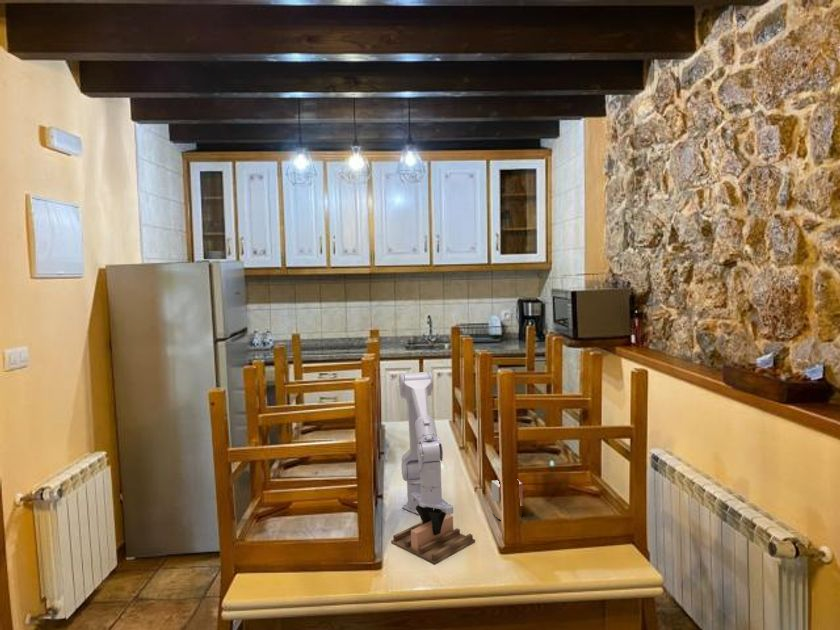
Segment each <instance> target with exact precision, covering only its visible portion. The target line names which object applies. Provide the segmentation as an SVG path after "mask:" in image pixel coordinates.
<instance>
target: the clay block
mask: <svg viewBox="0 0 840 630" xmlns="http://www.w3.org/2000/svg"><path fill="white" fill-rule="evenodd" d="M453 530H454V516H453V515H452V514H450V515H446V516H445V518H444V520H443V524H442V528H441V532H440V534H438V535H434V534H433V528H432V521H429V522H427V523H425V524H423V525H421V526H419V527H417V528H415V529H413V530H411V548H412V549H414V550H416V551H419V548H420V547H422V546H424V545H426V544H427V543H429V542H431V541H433V540H435V539H437V538H439V537H441V536H443V535H445V534H447V533H449V532H451V531H453Z"/></svg>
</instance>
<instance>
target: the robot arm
mask: <svg viewBox="0 0 840 630" xmlns="http://www.w3.org/2000/svg"><path fill="white" fill-rule="evenodd" d="M398 378H399V379H398V380H399V381H398V384H399V395H400V398H401V399H402V398H403V399H405V400H406V403H407V415H408V432H409V433H408V434H409V436H408V437H409V449H408V450H407V451H406V452H405V453H404V454H403V455H402V457H401V477H402V480H403V481H404V482H406V488H407V491H406V492H407V503H405V504H403V505H402V506H401V508H402V509H405V510H406V511H409V512H411V513H413V514H416V515H418V516H419V517H420V519H421V522H422V523H423V524H425V523H427V522H429V521H432V528H433V534H434V535H438V534H440V532H441V528H442V524H443V520H444V518H445V516H446V515H452V514H454V505H451V504H450V503H449V502H447V501H446V500H445V499H444V498H443V495H442V493H443V491H442V467H441V462H443V458H444V450H443V445H442V441H441V439H440V436H438V432H437V428H436V422H435V419H434V418H432V417H431V416H430V409H429V406H430V405H429V396H430V395H432V391H433V389H434V378H433V373H432V372H431V371H422V372H405V373H404V372H401V373H400V374H399V376H398Z"/></svg>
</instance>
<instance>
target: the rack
mask: <svg viewBox="0 0 840 630" xmlns="http://www.w3.org/2000/svg"><path fill="white" fill-rule="evenodd" d="M421 525H423V523H422V521H420V522H418V523H417V524H415V525H412V526H410V527H408V528H406V529H404V530H402V531H400V532H398V533H396V534H394V535H393V536H392V537H393V539H392V540H390V543H391V544H393V545H394V546H397V547H398V548H401V549H402V550H404V551H407V552H408V553H411V554H413V555H415V556H417V557H419V558H421V559H422V560H424V561H426V562H428V563H431V564H433V565H434V566H435V565H436V564H439V563H440V562H442V561H444V560H445V559H448V558H450V557H451V556H453V555H455V554H457V553H458V552H460V551H462V550H463V549H466V548H467V547H469V546H471V545H472V544H474V543H476V539H474V538H473V537H474V536H473V534H472V533H468V534H466V535H465V534H463V533H461V531H460V530H461V529H459V528H454V529H453V531H451V532H449V533H447V534H445V535H443V536H441V537H439V538H437V539H435V540H433V541H431V542H429V543H427V544H426V545H424V546H422V547H420V548H419V551H416V550H414V549H412V548H411V530H413V529H415V528H417V527H419V526H421Z"/></svg>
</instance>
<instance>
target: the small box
mask: <svg viewBox="0 0 840 630" xmlns="http://www.w3.org/2000/svg"><path fill="white" fill-rule="evenodd" d="M498 480H499V479H497V480H495V479H494V480H491V502H492V501H499V500H500V484H499V481H498ZM518 481H519V498H520V506H523V504H524V503H523V502H524V501H523V500H524V498H523V497H524V496H523V493H524V492H523V483H522V482H521V481H520V480H518ZM523 507H524V506H523Z"/></svg>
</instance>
